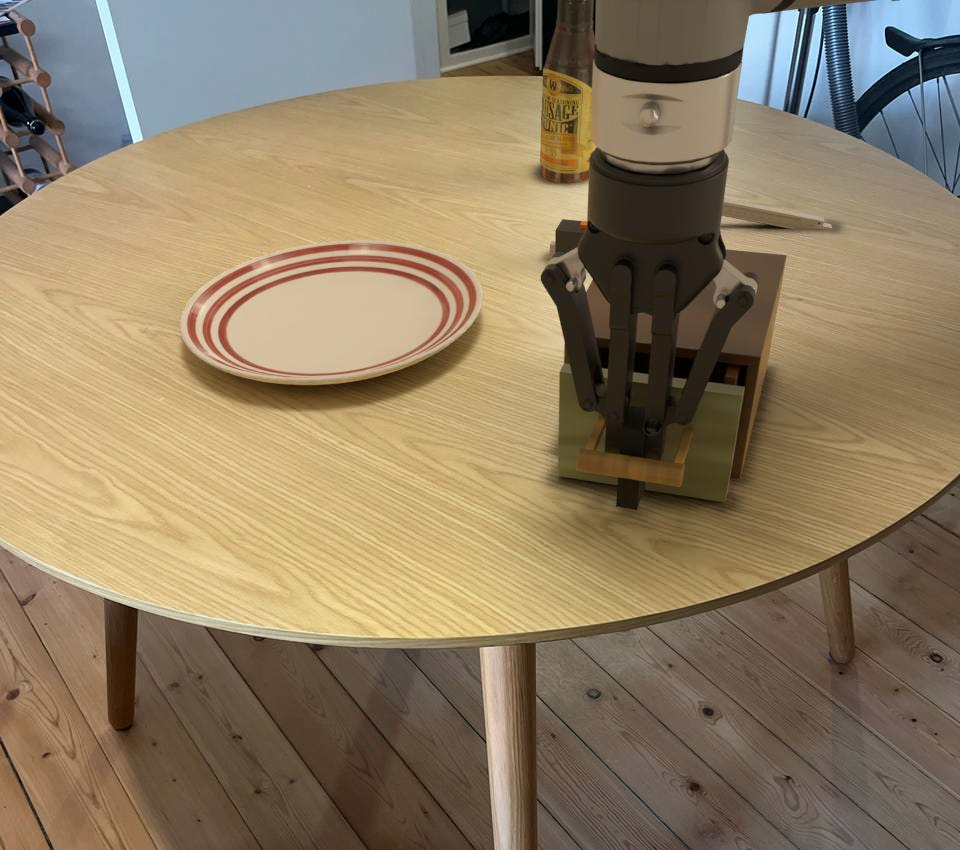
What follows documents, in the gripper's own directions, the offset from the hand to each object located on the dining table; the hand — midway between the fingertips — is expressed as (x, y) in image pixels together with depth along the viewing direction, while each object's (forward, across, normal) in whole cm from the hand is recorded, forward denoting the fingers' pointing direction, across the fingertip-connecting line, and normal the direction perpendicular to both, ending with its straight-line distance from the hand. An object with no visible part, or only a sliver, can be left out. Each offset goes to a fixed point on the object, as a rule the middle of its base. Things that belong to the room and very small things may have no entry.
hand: (630, 496), depth 72 cm
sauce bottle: (+2, -20, +59) cm, 62 cm away
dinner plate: (+3, -32, +20) cm, 38 cm away
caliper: (+2, 0, +49) cm, 49 cm away
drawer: (+1, 0, +7) cm, 7 cm away
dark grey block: (+2, -13, +38) cm, 40 cm away
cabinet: (+2, 0, +14) cm, 14 cm away
